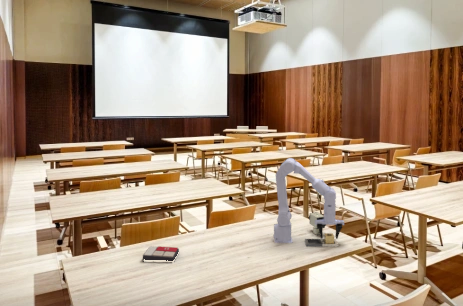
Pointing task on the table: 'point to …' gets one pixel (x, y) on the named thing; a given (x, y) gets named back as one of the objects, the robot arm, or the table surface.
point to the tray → (319, 243)
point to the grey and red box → (160, 253)
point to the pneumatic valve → (312, 221)
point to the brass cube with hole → (328, 238)
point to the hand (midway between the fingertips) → (329, 237)
